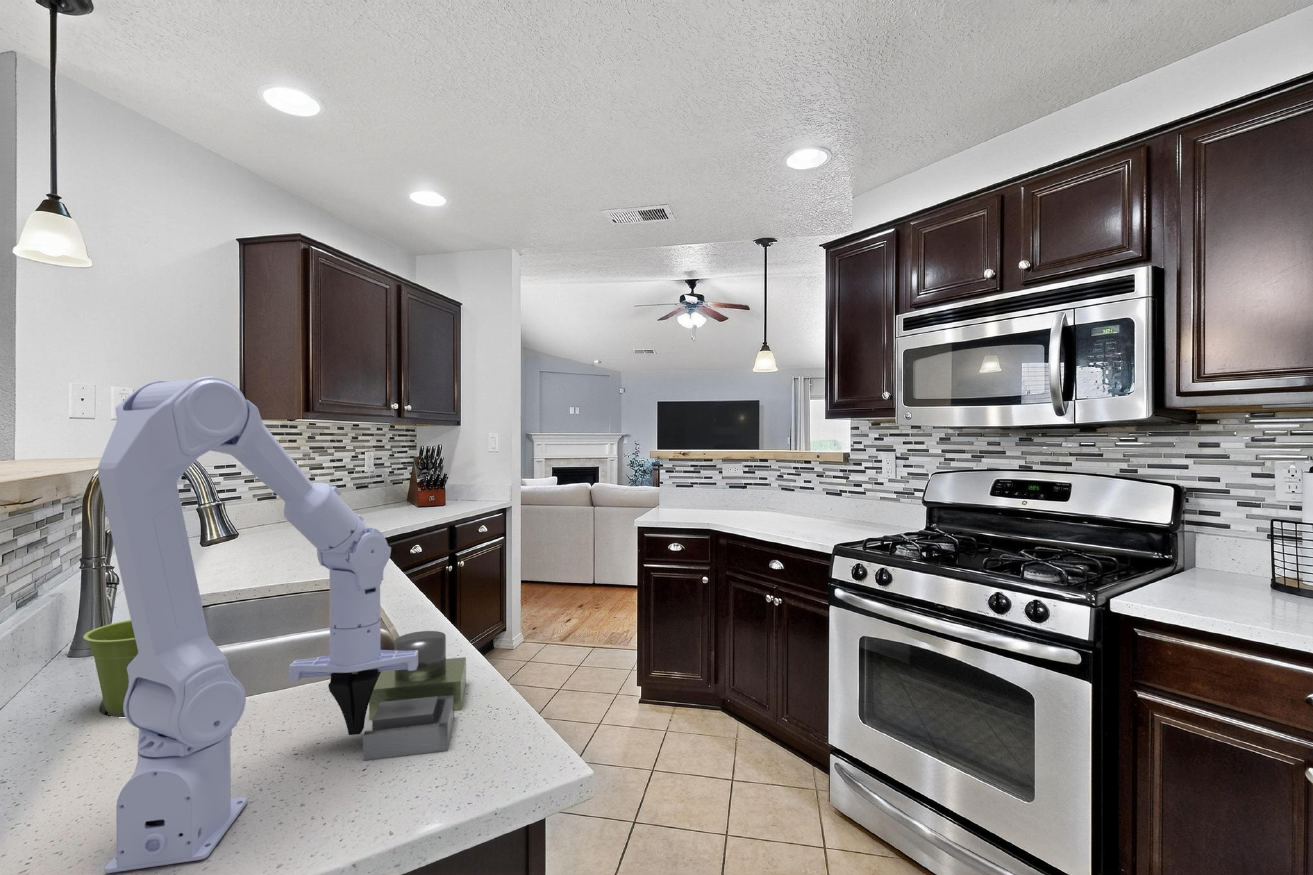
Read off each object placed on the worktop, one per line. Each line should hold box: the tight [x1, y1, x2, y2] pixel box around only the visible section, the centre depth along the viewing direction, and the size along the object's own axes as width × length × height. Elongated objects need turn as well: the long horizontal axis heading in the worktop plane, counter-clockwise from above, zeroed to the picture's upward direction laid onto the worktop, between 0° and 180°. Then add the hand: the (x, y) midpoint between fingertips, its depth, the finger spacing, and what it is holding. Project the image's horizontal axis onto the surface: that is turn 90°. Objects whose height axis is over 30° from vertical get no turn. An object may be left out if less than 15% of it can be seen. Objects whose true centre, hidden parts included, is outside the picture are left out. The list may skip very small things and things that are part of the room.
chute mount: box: [362, 630, 467, 762], centre depth 85 cm, size 22×12×9 cm, turn 13°
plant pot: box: [82, 619, 138, 715], centre depth 91 cm, size 12×12×11 cm
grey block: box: [371, 696, 439, 731], centre depth 79 cm, size 6×7×4 cm
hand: (356, 731), depth 78 cm, fingers closed
